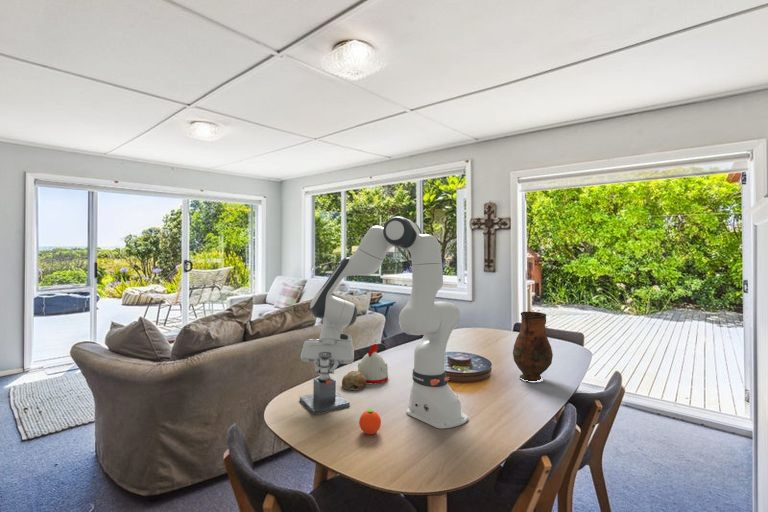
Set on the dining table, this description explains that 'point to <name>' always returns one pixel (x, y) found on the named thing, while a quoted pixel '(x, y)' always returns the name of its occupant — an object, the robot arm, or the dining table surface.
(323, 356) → the column
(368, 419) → the clementine
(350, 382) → the bread roll
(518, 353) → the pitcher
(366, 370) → the kitchen timer
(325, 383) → the stand base
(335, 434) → the dining table surface
